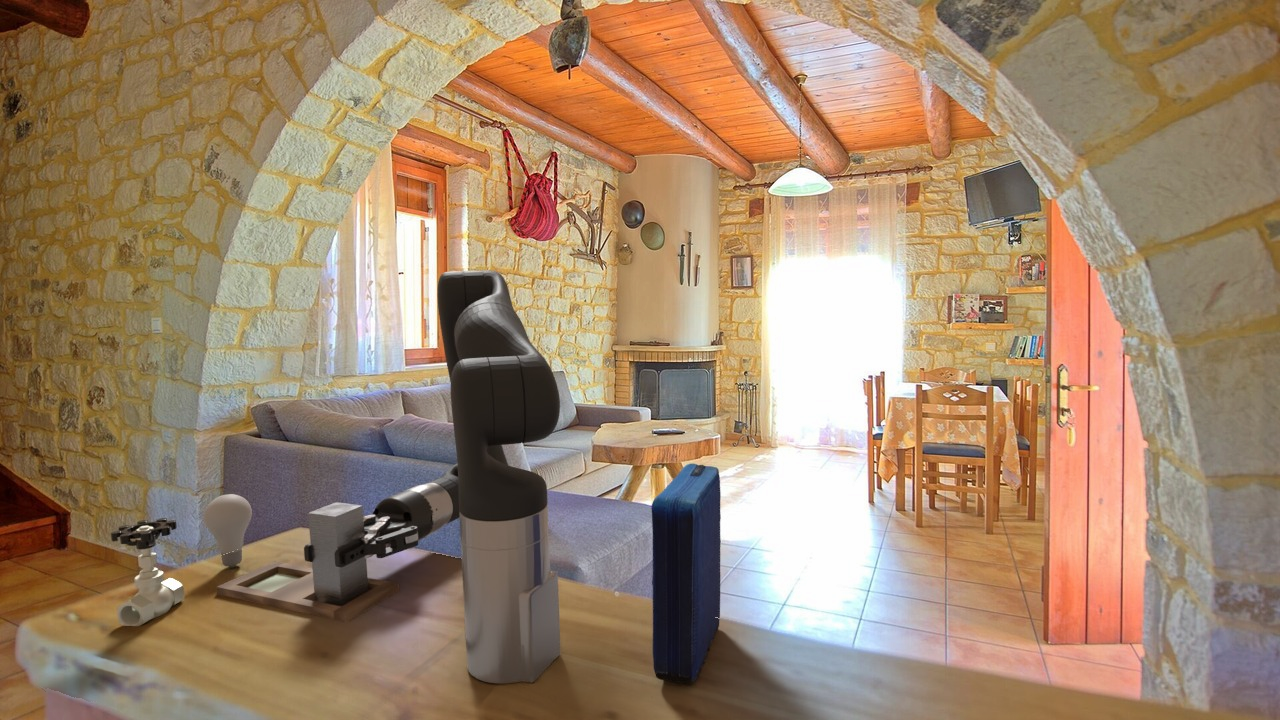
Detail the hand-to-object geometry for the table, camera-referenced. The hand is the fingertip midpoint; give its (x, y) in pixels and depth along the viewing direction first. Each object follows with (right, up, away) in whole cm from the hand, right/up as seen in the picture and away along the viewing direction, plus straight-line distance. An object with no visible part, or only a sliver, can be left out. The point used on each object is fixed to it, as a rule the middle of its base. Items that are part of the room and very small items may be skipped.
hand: (322, 556), depth 85 cm
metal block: (+1, -6, +3) cm, 7 cm away
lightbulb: (-21, -6, +16) cm, 27 cm away
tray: (-4, -7, +5) cm, 10 cm away
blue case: (+45, -8, -10) cm, 47 cm away
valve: (-21, -8, +1) cm, 23 cm away
